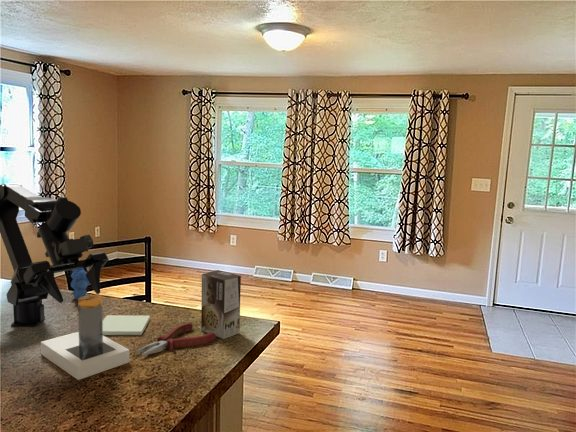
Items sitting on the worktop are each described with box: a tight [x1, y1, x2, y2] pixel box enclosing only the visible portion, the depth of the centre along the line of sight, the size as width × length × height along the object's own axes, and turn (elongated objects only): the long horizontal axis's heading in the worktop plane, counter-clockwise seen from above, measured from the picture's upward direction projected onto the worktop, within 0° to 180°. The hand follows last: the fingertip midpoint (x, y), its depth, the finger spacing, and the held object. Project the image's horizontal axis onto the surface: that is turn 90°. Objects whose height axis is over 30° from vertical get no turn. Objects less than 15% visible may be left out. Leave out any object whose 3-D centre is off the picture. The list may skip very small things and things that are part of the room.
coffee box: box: [200, 269, 242, 340], centre depth 127 cm, size 9×6×16 cm
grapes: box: [70, 268, 91, 301], centre depth 149 cm, size 12×7×12 cm, turn 37°
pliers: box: [134, 322, 217, 357], centre depth 119 cm, size 12×20×3 cm, turn 141°
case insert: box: [40, 331, 130, 381], centre depth 109 cm, size 18×12×3 cm, turn 50°
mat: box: [103, 314, 151, 336], centre depth 129 cm, size 12×12×1 cm
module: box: [77, 294, 104, 361], centre depth 106 cm, size 5×5×15 cm
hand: (81, 297), depth 112 cm, fingers open, 9 cm apart
